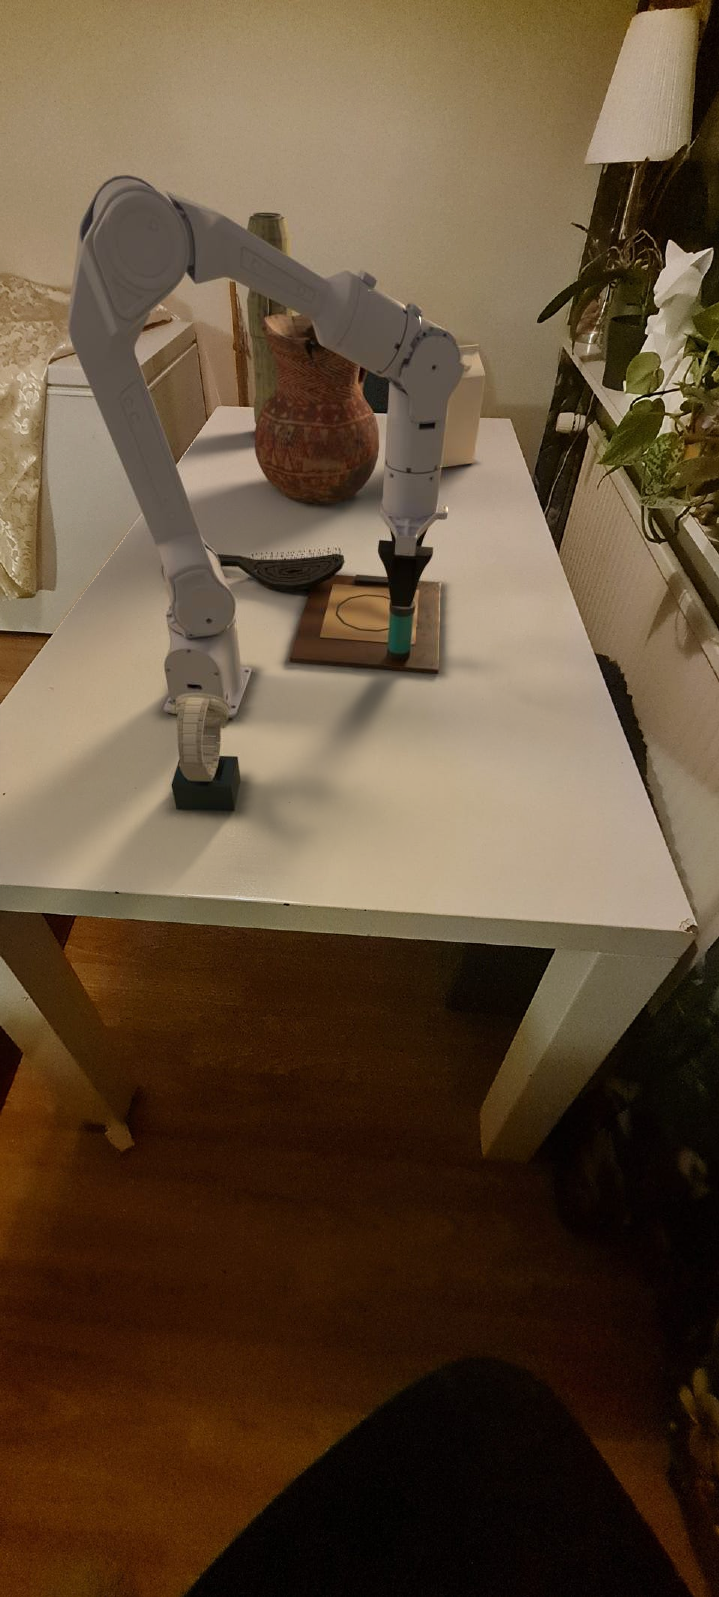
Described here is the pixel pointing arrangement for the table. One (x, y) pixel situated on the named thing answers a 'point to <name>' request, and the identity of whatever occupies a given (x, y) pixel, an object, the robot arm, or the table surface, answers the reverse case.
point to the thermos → (265, 308)
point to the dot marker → (400, 632)
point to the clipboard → (365, 625)
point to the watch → (203, 755)
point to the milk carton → (464, 410)
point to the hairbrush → (288, 569)
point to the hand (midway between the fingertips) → (403, 588)
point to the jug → (314, 418)
